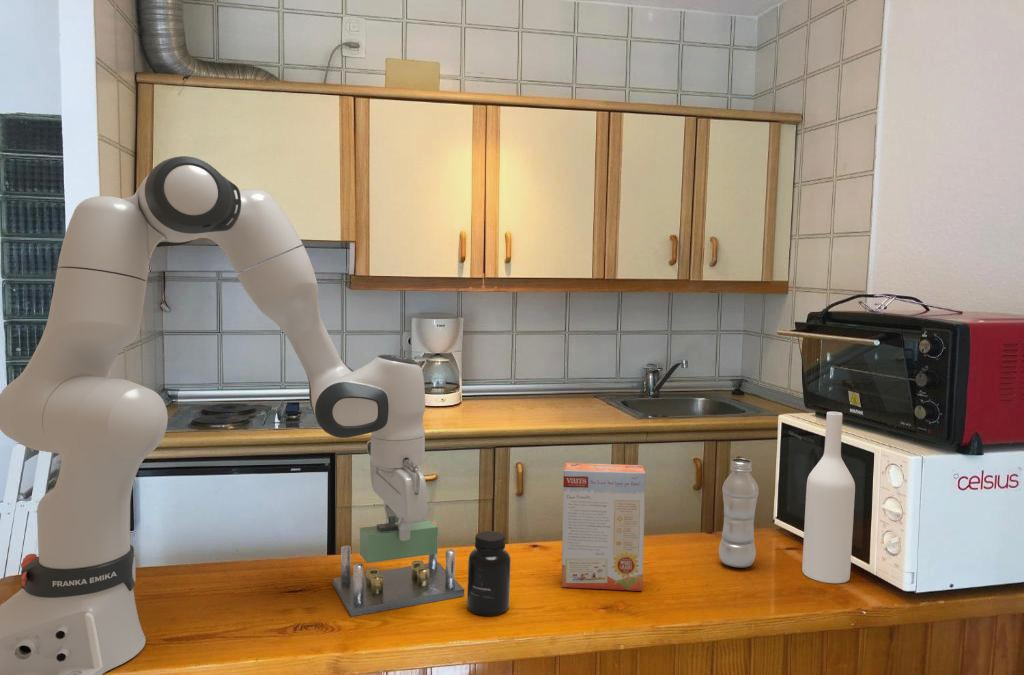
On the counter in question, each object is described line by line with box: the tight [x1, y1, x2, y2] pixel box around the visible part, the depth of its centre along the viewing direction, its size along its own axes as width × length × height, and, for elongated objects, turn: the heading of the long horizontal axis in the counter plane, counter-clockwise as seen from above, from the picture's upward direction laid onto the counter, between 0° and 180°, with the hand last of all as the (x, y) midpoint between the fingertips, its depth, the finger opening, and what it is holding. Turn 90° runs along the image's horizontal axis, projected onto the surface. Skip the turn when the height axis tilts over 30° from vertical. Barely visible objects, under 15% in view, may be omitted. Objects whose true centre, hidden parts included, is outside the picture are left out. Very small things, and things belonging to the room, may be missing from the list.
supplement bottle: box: [466, 530, 512, 616], centre depth 121 cm, size 7×7×12 cm
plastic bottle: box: [718, 457, 760, 569], centre depth 140 cm, size 6×7×20 cm
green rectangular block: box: [359, 520, 439, 564], centre depth 127 cm, size 12×5×5 cm, turn 116°
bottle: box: [801, 411, 856, 584], centre depth 136 cm, size 8×8×30 cm
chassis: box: [332, 533, 465, 617], centre depth 127 cm, size 19×13×7 cm
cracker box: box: [561, 462, 646, 592], centre depth 131 cm, size 14×6×21 cm, turn 84°
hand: (397, 532), depth 127 cm, fingers closed on green rectangular block, 5 cm apart
